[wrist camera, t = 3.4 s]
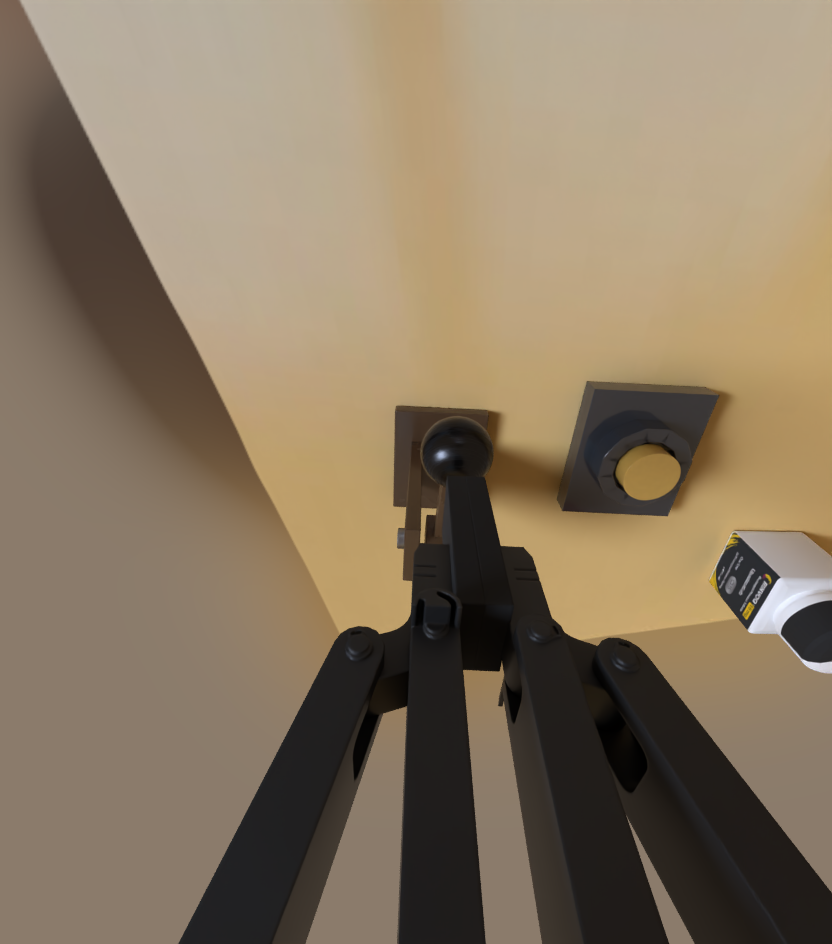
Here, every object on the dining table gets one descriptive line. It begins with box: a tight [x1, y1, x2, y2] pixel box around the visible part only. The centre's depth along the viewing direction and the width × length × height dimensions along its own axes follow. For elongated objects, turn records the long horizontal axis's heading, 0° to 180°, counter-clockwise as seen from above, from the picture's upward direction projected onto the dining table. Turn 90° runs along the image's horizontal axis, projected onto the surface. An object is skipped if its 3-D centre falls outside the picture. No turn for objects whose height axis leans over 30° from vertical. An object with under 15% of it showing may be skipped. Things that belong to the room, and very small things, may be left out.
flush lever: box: [420, 416, 493, 544], centre depth 25 cm, size 13×4×4 cm, turn 178°
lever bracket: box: [393, 406, 488, 581], centre depth 33 cm, size 10×8×14 cm
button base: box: [557, 381, 719, 516], centre depth 37 cm, size 12×10×4 cm
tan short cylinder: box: [616, 444, 681, 500], centre depth 35 cm, size 4×4×2 cm
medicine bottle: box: [709, 531, 832, 673], centre depth 39 cm, size 7×7×12 cm
